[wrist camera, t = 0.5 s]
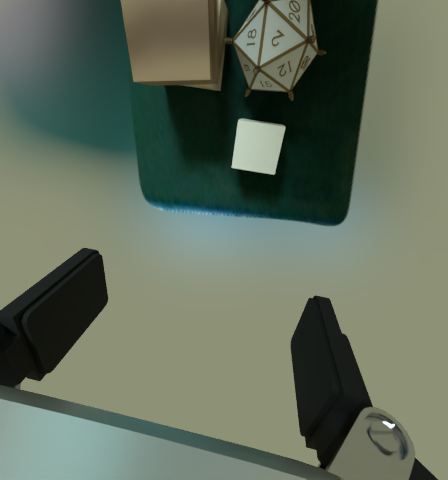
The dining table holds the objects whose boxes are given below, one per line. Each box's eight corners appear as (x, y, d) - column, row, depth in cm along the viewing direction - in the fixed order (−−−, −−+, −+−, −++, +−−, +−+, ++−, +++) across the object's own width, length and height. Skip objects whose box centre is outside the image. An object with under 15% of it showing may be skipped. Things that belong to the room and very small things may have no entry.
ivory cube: (242, 118, 29) (238, 119, 25) (282, 124, 29) (285, 126, 25) (236, 159, 32) (231, 167, 27) (273, 165, 31) (274, 174, 27)
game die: (261, 48, 29) (234, -58, 19) (336, 47, 25) (345, -81, 16) (237, 118, 29) (197, 46, 20) (307, 127, 25) (300, 44, 16)
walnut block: (140, -7, 21) (115, -30, 18) (216, -13, 20) (206, -38, 17) (151, 85, 25) (133, 81, 21) (218, 83, 24) (210, 79, 20)
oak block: (164, 5, 25) (143, -17, 21) (228, 13, 25) (221, -8, 21) (164, 83, 29) (146, 78, 24) (220, 91, 28) (212, 87, 24)
